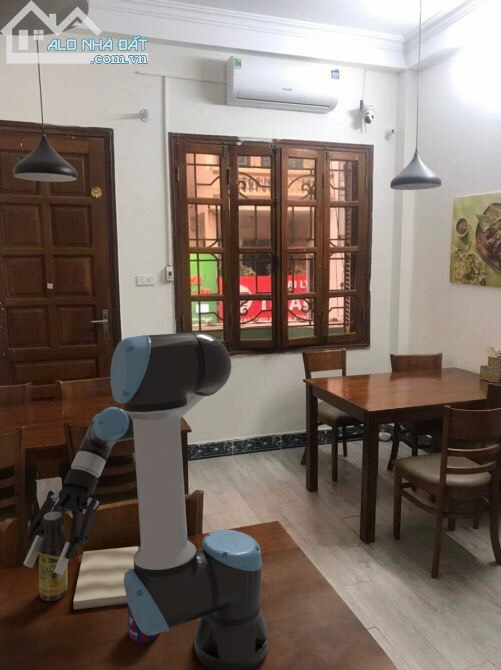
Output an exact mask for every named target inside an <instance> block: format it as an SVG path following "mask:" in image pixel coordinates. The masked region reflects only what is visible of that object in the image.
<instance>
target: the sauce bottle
mask: <svg viewBox="0 0 501 670" xmlns="http://www.w3.org/2000/svg"><path fill="white" fill-rule="evenodd" d="M62 521H63V514H61V513H60V512H55V511H54V512H49V513H47V514H45V515H44V517H43V523H44V536H43V539H42V542H41V546H40V549H39V554H38V591H39V596H40V598H41V599H42V600H43V601H45V602H51V601H52V602H55V601H58V600H59V599H62V598H63V597H64V596H65V595H66V594H67V590H68V582H69V581H68V579H69V578H68V575H69V574H68V565H67V566H66V568H65V571H64V573H63V575H59V574H57V573H55V572H54V570H55V567H56V565H57V563H58V560H59V558H60V555H61V553H62V551H63V548H64V546H65V544H66V542H68V540H67V538H66V536H65V535H64V534H63V532H62V531H63V529H62Z"/></svg>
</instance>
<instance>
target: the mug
mask: <svg viewBox="0 0 501 670" xmlns="http://www.w3.org/2000/svg"><path fill="white" fill-rule="evenodd" d="M127 616H128V617H127V620H128V624H127V626H128V637H129V638H130V640H131V641H133V642H136V643H141V644H144V643H145V644H146V643H149V642H152V641H154V640H155V639H157V638H158V636H159V635H160V634H161V632H160V633H157V634H154V635H146V634H144V633H143V632H142V631H141V630H140V629H139V627H138V626H137V624H136V622H135V620H134V617H133V615H132V612H131V609H130V606H129V603H127Z"/></svg>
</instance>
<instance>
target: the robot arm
mask: <svg viewBox="0 0 501 670" xmlns="http://www.w3.org/2000/svg"><path fill="white" fill-rule="evenodd" d="M228 351H229V350H227V348H226V347H225V345H224V344H223V343H222V342H221V341H220V340H219V339H218V338H216V337H215V336H212V335H211V334H209V333H205V332H198V331H193V332H192V331H191V332H181V333H180V332H179V333H178V332H177V333H164V334H142V335H137V336H129V337H125V338H123V339H122V340H120V341H119V343H118V344H117V345H116V347H115V350H114V353H113V355H112V358H111V366H110V388H111V393H112V395H111V396H112V397H113V399H114V401H115V402H116V403H119V404H120V405H121V404H122V406H123V409H122V408H119V407H117V406H110V407H107V408H105V409H104V410H102V411H101V412H100V413H97V414H95V415H94V416H93V419H92V420H91V421H90V423H89V425H88V428H87V430H86V433H85V435H84V437H83V439H82V442H81V445H80V446H79V449H78V450H77V453H76V454H75V457H74V459H73V461H72V463H71V466H70V467H71V469H69V470H68V472H67V474H66V477H65V479H64V481H63V487H62V488H61V489H60V490H59V491H54V490H49V491H48V492H47V495H46V498H45V500H44V502H43V504H42V505H41V507H40V509H39V510H38V512H37V514H36V515H35V517H34V519H33V521H32V522H31V524H30V525H29V527H28V531H30V532H32V534H33V536H32V538H31V540H30V543H29V545H28V547H27V548H28V549H27V550H29V551H28V553H27V555H26V557H25V560H24V561H23V565H24V566H26V567H28V568H31V569H33V568H34V565H35V563H36V560H37V558H38V557H39V549H40V546H41V542H42V539H43V536H44V523H43V517H44V515H45V514H47V513H49V512H54V511H55V512H60V513H61V514H62V515H64V514H65V513H66V512H71V515H72V516H71V527H70V537H69V539H68V541H69V542H68V541H67V542H66V544H65V546H64V548H63V551H62V553H61V555H60V558H59V560H58V563H57V565H56V567H55V570H54V572H55V573H57V574H59V575H63V573H64V571H65V568H66V566H67V567H68V563H69V561H70V560H72V559H74V556H75V553H76V551H77V548H78V546H79V545H86V544H88V542H89V538H90V535H91V531H92V528H93V523H94V520H95V515H96V513H97V510H98V509H99V507H100V506H101V503H100V501H98V500H97V499H96V498H92V494H93V493H94V492H95V489H96V487H97V484H98V482H99V479H98V478H100V477H101V474H102V472H103V470H104V467H105V465H106V462H107V461H108V458H109V455H110V453H111V450H112V448H113V447H114V445H116V443H117V442H122V441H123V442H124V441H128V440H133V444H134V459H135V460H134V463H135V473H136V488H137V492H136V493H137V504H138V505H137V507H138V519H139V520H138V522H139V535H140V536H139V537H140V538H139V539H140V547H138V550H137V551H136V553H135V554H134V558H133V561H134V569H129V570H128V571H127V572H126V573H125V574H124V586H125V592H126V596H127V600H128V603H129V606H130V609H131V612H132V615H133V617H134V620H135V622H136V624H137V626H138V627H139V629H140V630H141V631H142V632H143V633H144V634H146V635H154V634H157V633H160V634H161V633H164V632H169V631H170V630H172V629H174V628H177V627H180V626H182V625H184V624H185V625H186V624H188V623H190V622H192V621H196V620H198V619H199V620H198V623H197V626H196V628H195V633H194V651H195V655H196V657H197V658H198V660H199V661H200V663H202V664H203V665H204V666H205V667H207V668H208V669H211V670H251V669H253V668H255V667H257V666H259V664H260V663H261V662H262V661H263V660H264V659H265V657H266V656H267V654H268V650H269V631H268V627H267V625H266V621H265V619H264V616H263V612H262V610H261V602H262V601H261V597H262V596H261V595H262V594H261V592H262V591H261V590H262V567H263V561H262V550H261V546H260V545H259V543H258V541H257V540H256V539H255V538H254V537H252V536H251V535H249V534H247V533H244V532H242V531H237V530H234V529H218V530H214V531H213V530H212V531H211V532H209V533H207V534H206V535H205V537H203V539H202V540H203V541H202V543H201V545H202V547H201V548H197V547H196V546H195V545H194V544H193V543H192V542H191V541H190V540H188V529H187V527H188V525H187V513H186V512H187V511H186V495H185V479H184V466H183V465H184V464H183V449H182V447H183V445H182V434H181V433H182V431H181V430H182V429H181V428H182V424H183V417H184V416H185V415H186V414H187V413H188V412H189V411H191V409H192V408H194V407H195V406H196V405H197V404H198V403H199V402H200V401H201V400H203V399H204V398H205V397H210V396H213V395H215V394H216V393H218V392H219V391H220V390H221V389H222V388H223V387H224V385H225V384H227V382H228V380H229V378H230V376H231V372H232V361H231V360H232V359H231V356H230V353H229V352H228ZM85 506H87V507H86V510H85V513H84V507H85ZM83 515H84V517H83ZM82 517H83V520H82ZM128 603H127V604H128Z"/></svg>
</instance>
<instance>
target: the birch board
mask: <svg viewBox="0 0 501 670" xmlns="http://www.w3.org/2000/svg"><path fill="white" fill-rule="evenodd" d="M138 549H139V546H128V547H127V546H126V547H119V548H107V549H99V550H98V549H97V550H87V551H83V553H82V557H81V563H80V566H79V572H78V578H77V582H76V586H75V593H74V597H73V611H74V610H82V609H89V608H99V607H106V606H115V605H125V604H128V600H127V596H126V592H125V586H124V574H125V573H126V572H127V571H128V570H129V569H134V561H133V558H134V554H135V553H136V551H137V550H138Z"/></svg>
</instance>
